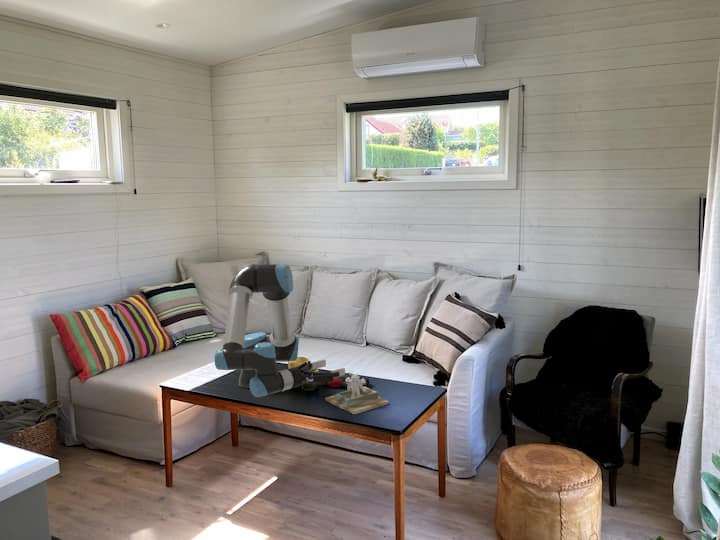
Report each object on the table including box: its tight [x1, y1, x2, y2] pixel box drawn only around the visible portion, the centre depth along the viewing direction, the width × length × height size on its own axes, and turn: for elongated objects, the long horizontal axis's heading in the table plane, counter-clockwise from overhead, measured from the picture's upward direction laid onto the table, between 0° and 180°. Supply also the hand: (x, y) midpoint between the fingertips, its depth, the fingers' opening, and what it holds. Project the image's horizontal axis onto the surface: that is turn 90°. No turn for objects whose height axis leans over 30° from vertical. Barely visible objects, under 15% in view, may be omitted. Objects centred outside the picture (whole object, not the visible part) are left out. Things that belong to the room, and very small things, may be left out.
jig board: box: [325, 386, 389, 415], centre depth 248 cm, size 20×18×4 cm
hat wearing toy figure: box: [345, 371, 366, 399], centre depth 247 cm, size 9×4×12 cm, turn 70°
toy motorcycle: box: [318, 371, 370, 390], centre depth 269 cm, size 25×5×16 cm
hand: (334, 367), depth 239 cm, fingers open, 13 cm apart
